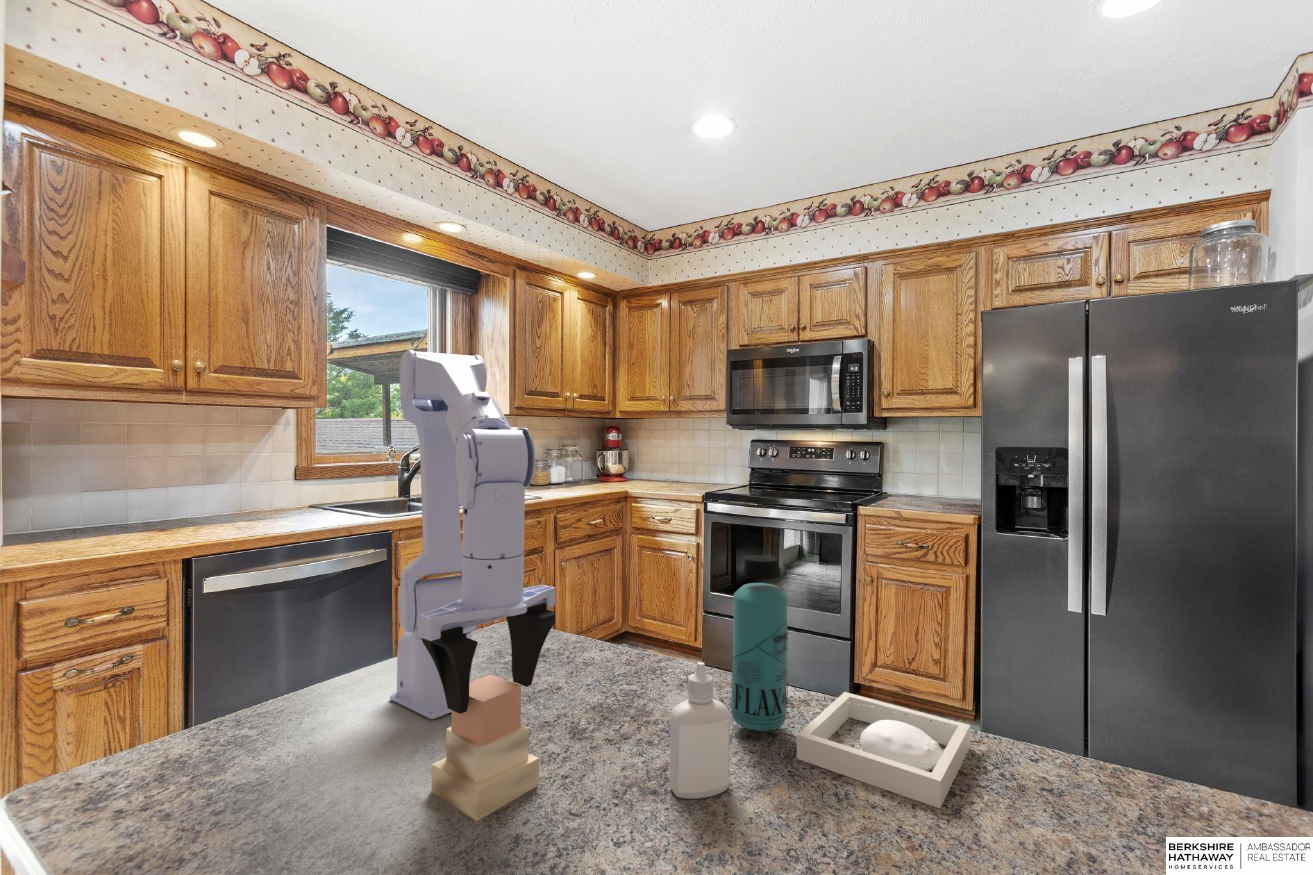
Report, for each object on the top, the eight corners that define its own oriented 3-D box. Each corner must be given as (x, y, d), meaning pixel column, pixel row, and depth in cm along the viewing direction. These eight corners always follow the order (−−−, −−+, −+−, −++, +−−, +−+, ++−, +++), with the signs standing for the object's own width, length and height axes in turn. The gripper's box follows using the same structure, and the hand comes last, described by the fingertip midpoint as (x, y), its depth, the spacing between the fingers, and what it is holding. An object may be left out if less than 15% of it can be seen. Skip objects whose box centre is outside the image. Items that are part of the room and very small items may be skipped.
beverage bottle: (723, 738, 68) (725, 559, 68) (738, 713, 75) (740, 549, 75) (781, 750, 66) (784, 564, 66) (792, 723, 72) (794, 554, 72)
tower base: (431, 795, 57) (431, 763, 57) (492, 764, 63) (492, 735, 63) (477, 825, 53) (477, 790, 53) (538, 789, 59) (538, 758, 59)
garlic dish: (796, 758, 64) (796, 734, 64) (844, 712, 75) (844, 691, 75) (940, 808, 56) (940, 781, 56) (970, 747, 67) (970, 725, 67)
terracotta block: (451, 731, 58) (451, 689, 58) (489, 713, 61) (490, 674, 61) (482, 746, 55) (483, 701, 55) (520, 726, 59) (521, 685, 59)
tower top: (446, 759, 58) (446, 728, 58) (496, 739, 62) (496, 709, 62) (476, 782, 54) (477, 748, 54) (528, 759, 58) (528, 728, 58)
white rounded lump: (954, 768, 63) (955, 731, 63) (925, 793, 59) (926, 753, 59) (881, 739, 69) (882, 706, 69) (849, 760, 65) (850, 724, 65)
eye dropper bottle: (726, 806, 56) (728, 674, 56) (666, 798, 57) (667, 669, 57) (730, 780, 60) (732, 657, 60) (674, 773, 61) (675, 653, 61)
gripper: (452, 572, 50) (450, 737, 50) (577, 548, 62) (575, 682, 62) (405, 561, 55) (403, 713, 55) (530, 540, 66) (528, 666, 66)
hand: (491, 695), depth 59 cm, fingers open, 7 cm apart
